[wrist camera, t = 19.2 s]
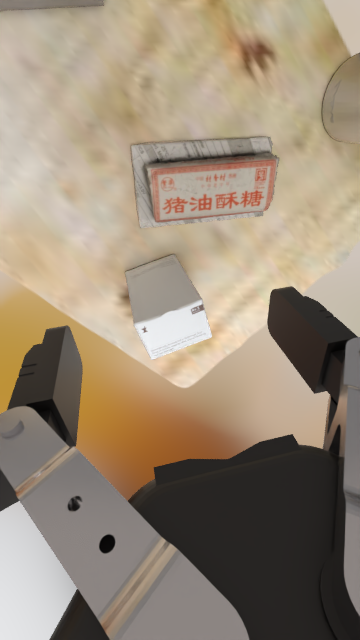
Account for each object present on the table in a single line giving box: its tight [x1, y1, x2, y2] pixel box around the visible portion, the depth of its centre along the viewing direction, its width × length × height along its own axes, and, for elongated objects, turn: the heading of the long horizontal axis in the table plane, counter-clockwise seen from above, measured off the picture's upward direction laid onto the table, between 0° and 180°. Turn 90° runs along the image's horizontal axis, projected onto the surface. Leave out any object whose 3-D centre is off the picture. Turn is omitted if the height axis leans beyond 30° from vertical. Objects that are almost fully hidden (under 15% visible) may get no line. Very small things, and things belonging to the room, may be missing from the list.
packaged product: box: [131, 137, 279, 228], centre depth 38 cm, size 18×5×10 cm
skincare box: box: [125, 254, 212, 360], centre depth 40 cm, size 8×6×15 cm
